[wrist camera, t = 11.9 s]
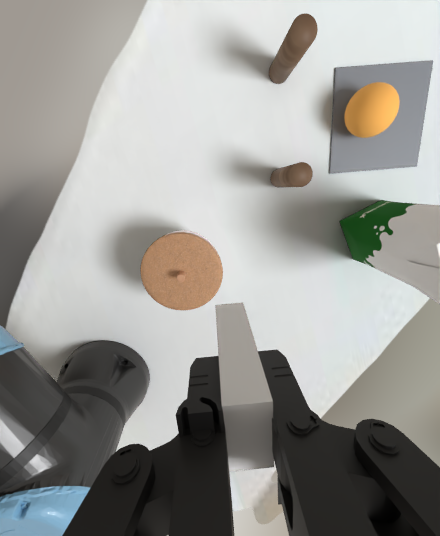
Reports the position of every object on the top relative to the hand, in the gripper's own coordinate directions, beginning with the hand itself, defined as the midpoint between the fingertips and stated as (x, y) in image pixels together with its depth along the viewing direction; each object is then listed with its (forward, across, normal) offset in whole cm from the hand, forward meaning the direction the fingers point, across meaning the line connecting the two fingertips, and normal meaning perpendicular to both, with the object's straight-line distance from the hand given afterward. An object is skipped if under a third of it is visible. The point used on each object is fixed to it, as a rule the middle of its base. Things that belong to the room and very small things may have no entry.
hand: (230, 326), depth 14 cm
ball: (+23, +21, +15) cm, 35 cm away
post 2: (+26, +10, +8) cm, 29 cm away
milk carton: (+27, +24, -1) cm, 36 cm away
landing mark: (+26, +24, +14) cm, 39 cm away
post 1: (+26, +10, +21) cm, 35 cm away
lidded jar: (+27, -5, -3) cm, 27 cm away
